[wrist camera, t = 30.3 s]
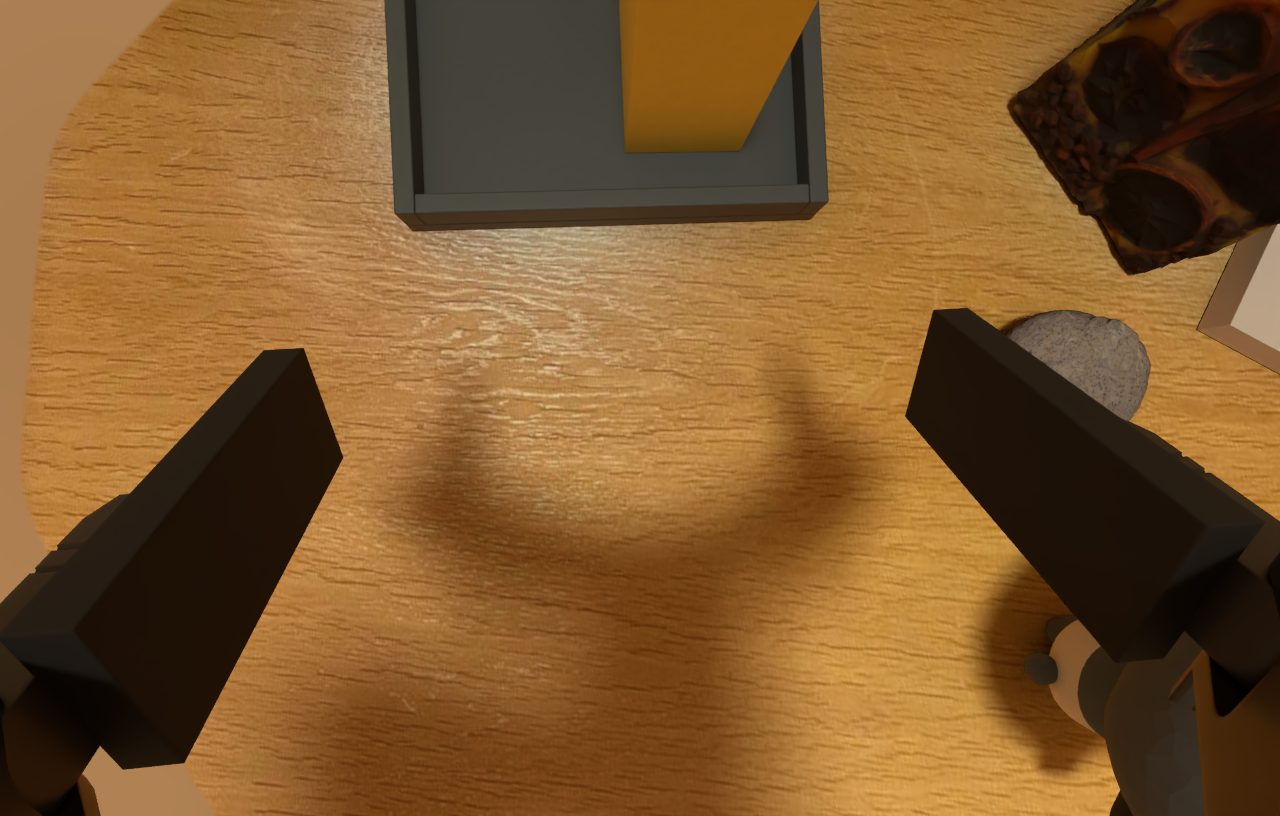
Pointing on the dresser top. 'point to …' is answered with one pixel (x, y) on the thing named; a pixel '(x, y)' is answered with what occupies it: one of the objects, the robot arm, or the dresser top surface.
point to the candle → (1168, 126)
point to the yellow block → (701, 69)
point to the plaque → (1249, 300)
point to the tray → (573, 126)
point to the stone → (1090, 355)
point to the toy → (1129, 716)
